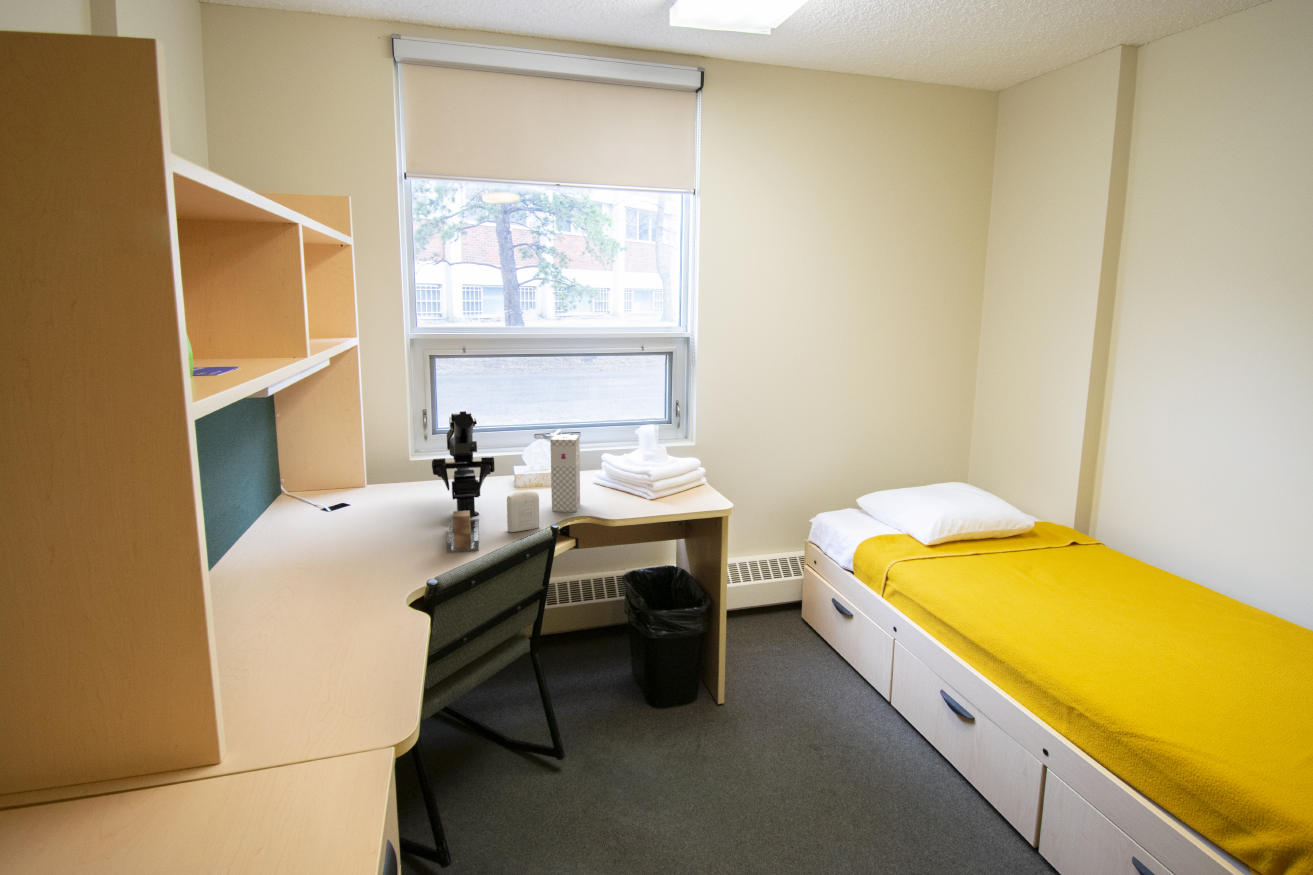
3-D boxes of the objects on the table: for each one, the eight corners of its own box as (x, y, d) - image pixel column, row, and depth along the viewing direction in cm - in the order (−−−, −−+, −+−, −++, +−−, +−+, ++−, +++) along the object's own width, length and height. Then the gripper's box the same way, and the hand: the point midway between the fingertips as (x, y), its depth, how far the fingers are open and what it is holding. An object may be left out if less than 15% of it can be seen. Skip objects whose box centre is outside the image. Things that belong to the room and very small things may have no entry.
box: (576, 511, 233) (575, 439, 228) (551, 511, 233) (550, 439, 228) (580, 504, 241) (579, 435, 236) (556, 503, 241) (554, 434, 236)
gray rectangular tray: (450, 530, 213) (450, 520, 212) (479, 528, 215) (478, 519, 215) (447, 552, 194) (446, 542, 193) (478, 550, 196) (478, 540, 196)
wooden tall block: (471, 543, 200) (469, 510, 198) (470, 549, 195) (469, 515, 193) (455, 544, 199) (453, 511, 197) (454, 550, 194) (452, 516, 192)
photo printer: (536, 524, 219) (535, 487, 217) (541, 528, 216) (540, 490, 213) (505, 530, 214) (504, 492, 211) (510, 534, 210) (509, 495, 208)
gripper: (430, 433, 209) (429, 477, 201) (493, 431, 213) (494, 474, 205) (433, 452, 218) (433, 495, 210) (493, 450, 223) (495, 492, 214)
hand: (464, 489), depth 210 cm, fingers open, 9 cm apart
